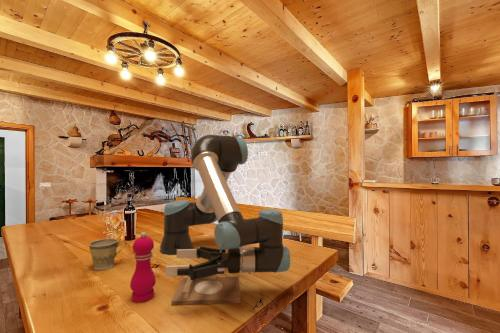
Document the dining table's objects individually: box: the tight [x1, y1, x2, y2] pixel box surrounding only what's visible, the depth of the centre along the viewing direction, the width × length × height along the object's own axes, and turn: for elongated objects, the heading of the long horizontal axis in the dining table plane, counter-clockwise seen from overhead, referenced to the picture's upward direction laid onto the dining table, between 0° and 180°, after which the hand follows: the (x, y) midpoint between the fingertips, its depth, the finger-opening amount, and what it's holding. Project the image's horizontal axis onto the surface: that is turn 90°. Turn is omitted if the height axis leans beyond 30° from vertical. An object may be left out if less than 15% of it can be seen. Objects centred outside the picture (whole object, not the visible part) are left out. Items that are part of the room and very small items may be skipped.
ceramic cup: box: [88, 237, 127, 271], centre depth 98 cm, size 13×10×10 cm
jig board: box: [170, 274, 241, 306], centre depth 78 cm, size 20×15×3 cm
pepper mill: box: [129, 231, 156, 303], centre depth 75 cm, size 7×7×20 cm
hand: (171, 261), depth 75 cm, fingers open, 13 cm apart
